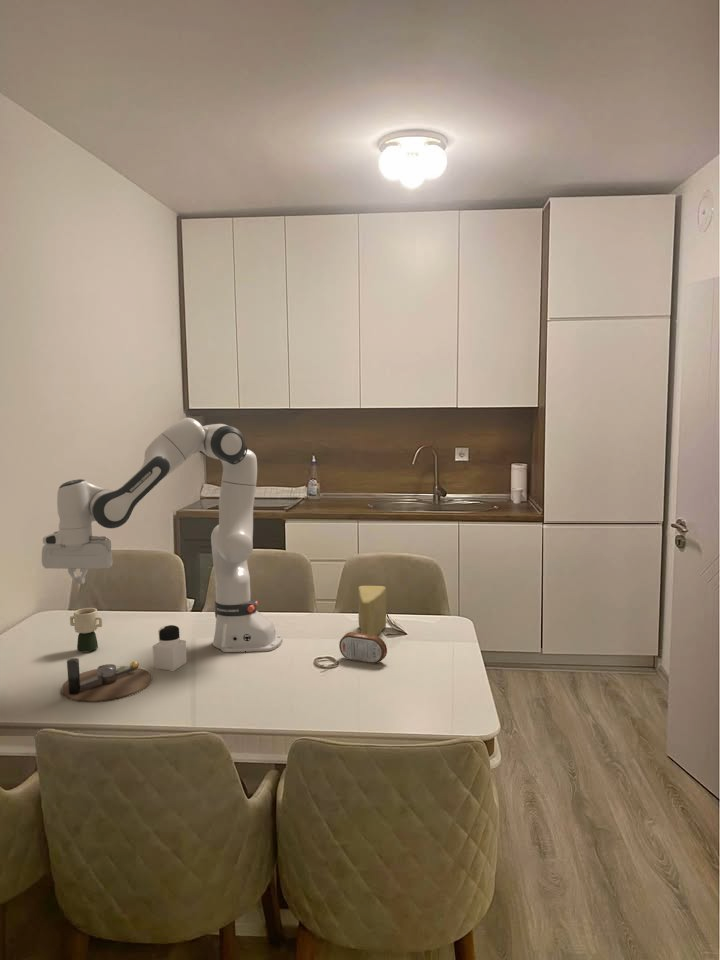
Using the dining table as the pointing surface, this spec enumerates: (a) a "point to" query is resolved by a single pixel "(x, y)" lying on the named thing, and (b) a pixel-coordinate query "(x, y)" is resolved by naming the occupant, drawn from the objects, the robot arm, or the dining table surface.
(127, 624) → the dining table surface
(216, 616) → the robot arm
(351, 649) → the tin
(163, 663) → the medicine bottle
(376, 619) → the cheese
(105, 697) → the stand
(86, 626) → the character mug
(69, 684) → the crank lever
